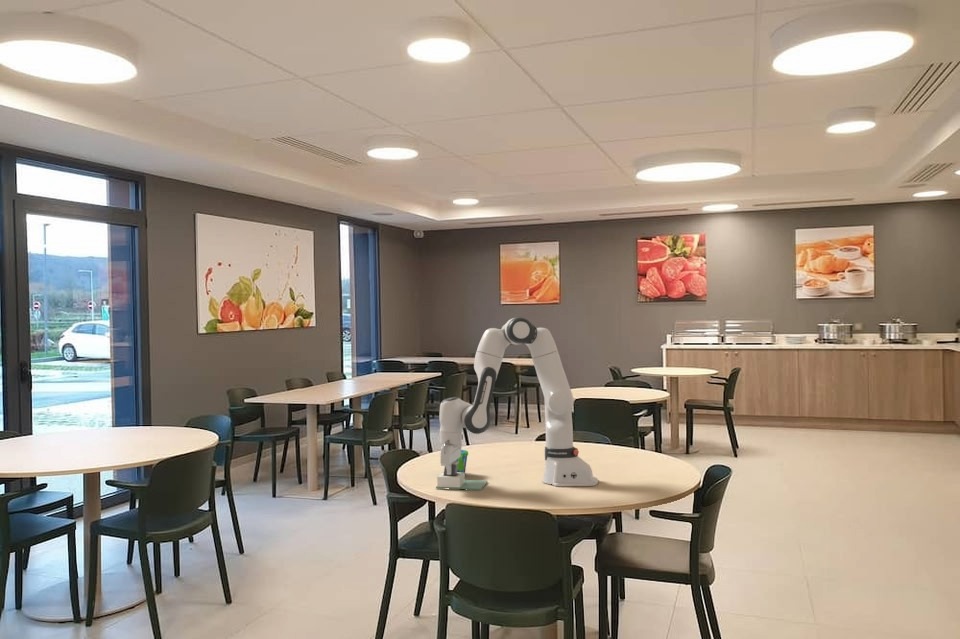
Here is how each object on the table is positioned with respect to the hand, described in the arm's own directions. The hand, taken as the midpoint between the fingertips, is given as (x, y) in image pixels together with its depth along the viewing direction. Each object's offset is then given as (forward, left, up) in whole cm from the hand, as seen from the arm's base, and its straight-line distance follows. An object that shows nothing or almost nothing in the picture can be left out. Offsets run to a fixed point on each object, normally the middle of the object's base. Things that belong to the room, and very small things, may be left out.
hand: (451, 472), depth 272 cm
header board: (-4, -2, -5) cm, 7 cm away
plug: (+1, 0, -2) cm, 2 cm away
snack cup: (+3, -21, -6) cm, 22 cm away
